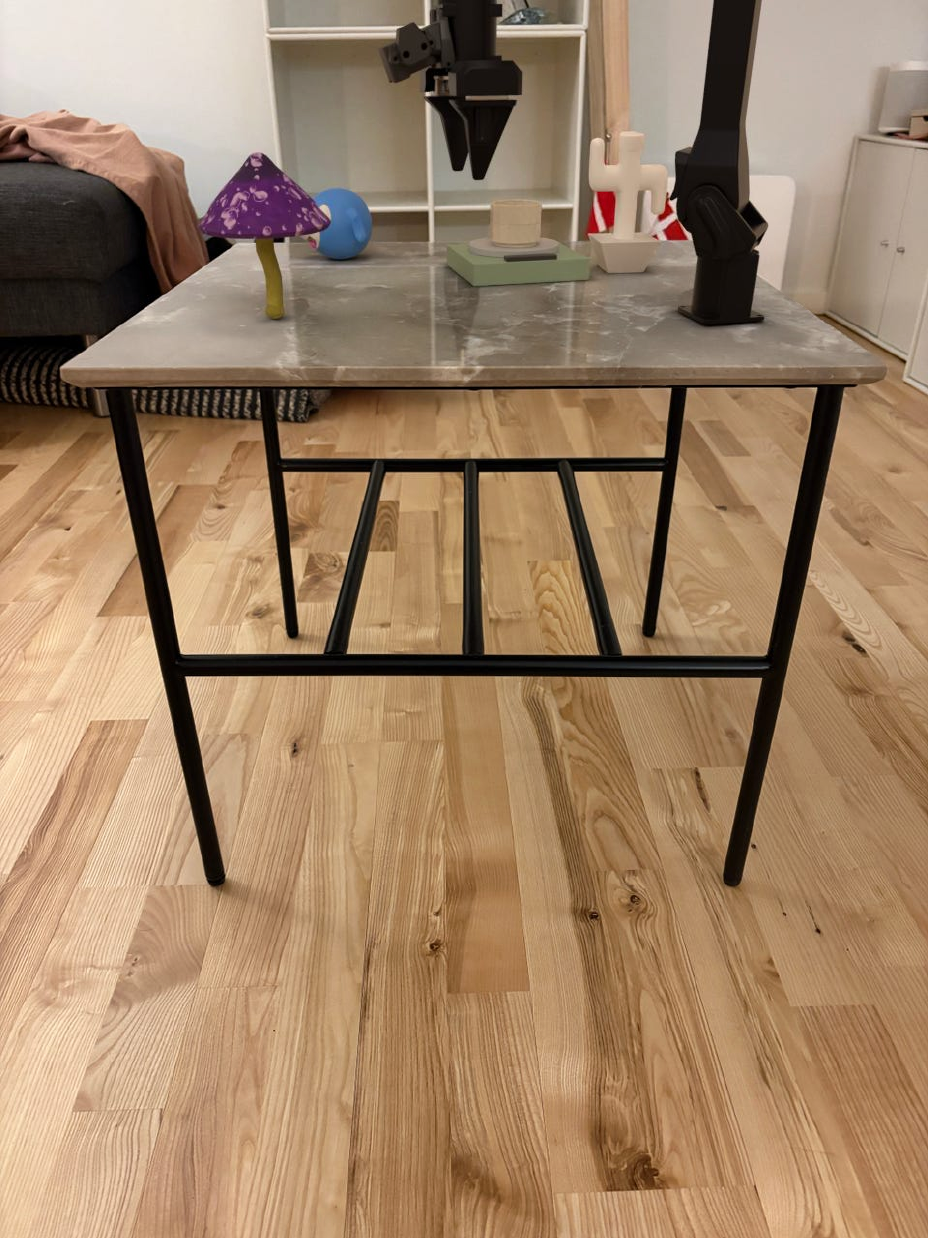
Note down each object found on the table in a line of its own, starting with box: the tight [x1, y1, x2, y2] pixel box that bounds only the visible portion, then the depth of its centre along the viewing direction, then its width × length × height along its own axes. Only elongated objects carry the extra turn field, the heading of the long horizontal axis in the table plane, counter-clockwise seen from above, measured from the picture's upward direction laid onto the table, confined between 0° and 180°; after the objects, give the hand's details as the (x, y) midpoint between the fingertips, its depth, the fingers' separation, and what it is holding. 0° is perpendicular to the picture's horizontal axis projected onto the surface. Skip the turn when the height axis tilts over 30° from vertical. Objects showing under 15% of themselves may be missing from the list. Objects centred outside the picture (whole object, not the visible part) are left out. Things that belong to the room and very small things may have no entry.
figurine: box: [587, 130, 669, 274], centre depth 109 cm, size 7×9×15 cm
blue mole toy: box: [298, 187, 373, 260], centre depth 118 cm, size 12×12×8 cm
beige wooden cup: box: [489, 198, 543, 248], centre depth 109 cm, size 6×6×5 cm
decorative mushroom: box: [197, 151, 331, 320], centre depth 88 cm, size 12×12×15 cm
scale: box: [446, 236, 591, 287], centre depth 112 cm, size 14×14×3 cm
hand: (467, 175), depth 95 cm, fingers open, 9 cm apart
